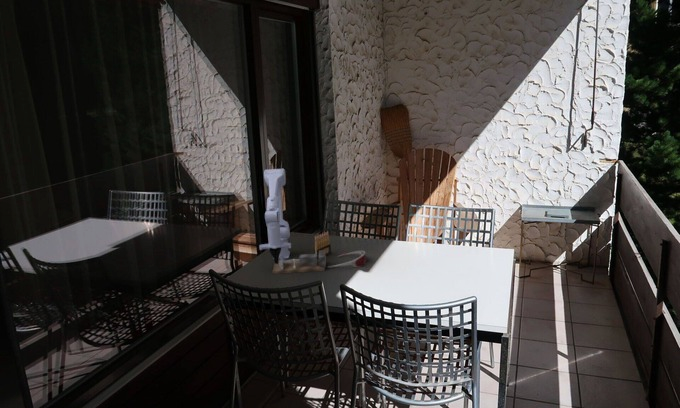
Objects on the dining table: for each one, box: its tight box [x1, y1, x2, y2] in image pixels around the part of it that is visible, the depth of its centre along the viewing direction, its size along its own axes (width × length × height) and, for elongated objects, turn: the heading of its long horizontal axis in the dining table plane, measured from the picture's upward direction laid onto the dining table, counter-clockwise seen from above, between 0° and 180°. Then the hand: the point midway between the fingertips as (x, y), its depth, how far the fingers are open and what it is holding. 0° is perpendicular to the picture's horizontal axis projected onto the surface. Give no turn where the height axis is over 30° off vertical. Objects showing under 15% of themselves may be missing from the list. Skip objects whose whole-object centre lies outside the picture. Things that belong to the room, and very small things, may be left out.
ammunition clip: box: [314, 230, 332, 260], centre depth 273 cm, size 11×2×12 cm, turn 142°
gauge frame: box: [272, 250, 327, 275], centre depth 260 cm, size 24×12×6 cm, turn 91°
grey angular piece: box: [278, 255, 300, 270], centre depth 259 cm, size 10×9×4 cm
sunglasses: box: [327, 250, 367, 269], centre depth 264 cm, size 17×17×5 cm
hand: (276, 263), depth 260 cm, fingers closed
